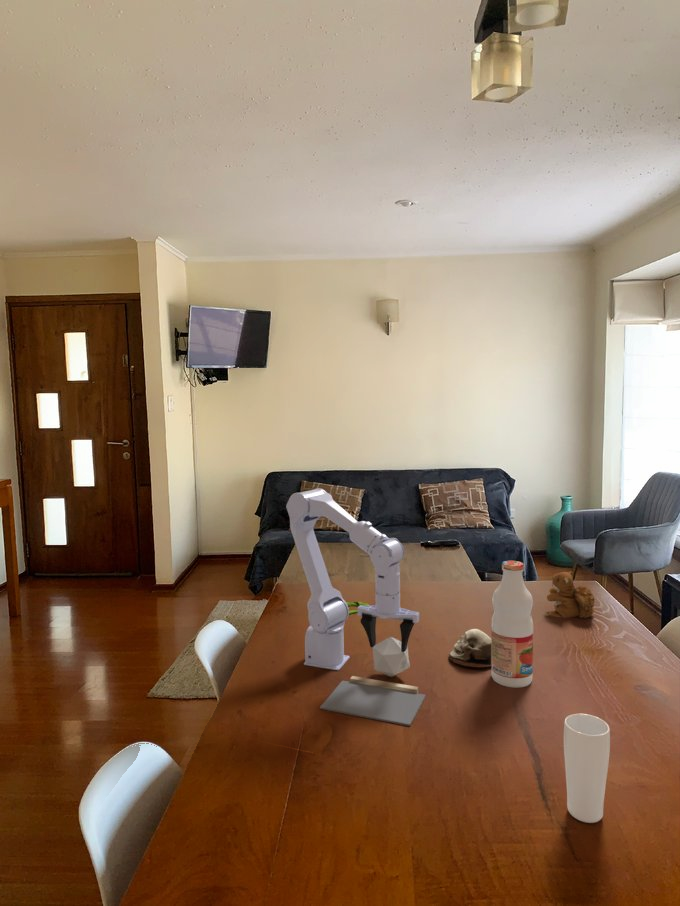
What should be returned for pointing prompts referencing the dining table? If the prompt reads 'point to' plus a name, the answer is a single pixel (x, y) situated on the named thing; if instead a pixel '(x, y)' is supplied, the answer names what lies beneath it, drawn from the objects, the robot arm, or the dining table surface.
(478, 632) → the skull
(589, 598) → the stuffed squirrel
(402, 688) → the stop bar
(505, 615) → the fruit juice
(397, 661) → the die
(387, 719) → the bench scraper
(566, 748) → the drinking glass
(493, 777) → the dining table surface
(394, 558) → the robot arm
